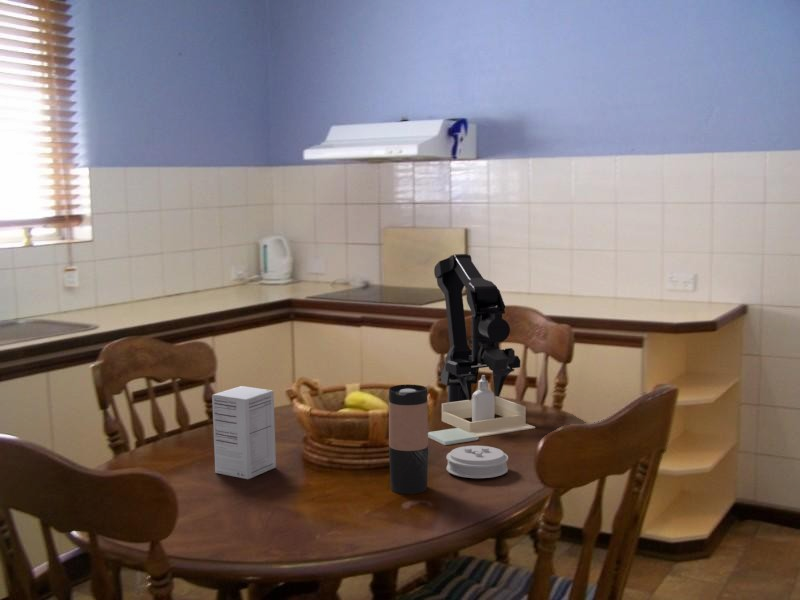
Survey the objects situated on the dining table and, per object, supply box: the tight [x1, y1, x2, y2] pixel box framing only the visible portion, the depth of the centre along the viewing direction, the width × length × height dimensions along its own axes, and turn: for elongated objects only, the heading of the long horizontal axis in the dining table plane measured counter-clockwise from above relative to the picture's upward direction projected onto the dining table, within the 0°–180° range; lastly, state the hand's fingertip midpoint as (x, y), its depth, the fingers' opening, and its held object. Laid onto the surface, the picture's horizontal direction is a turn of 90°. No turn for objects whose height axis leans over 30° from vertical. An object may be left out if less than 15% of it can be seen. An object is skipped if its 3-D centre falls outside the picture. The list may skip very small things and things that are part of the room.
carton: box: [441, 395, 536, 438], centre depth 234 cm, size 17×16×4 cm
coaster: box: [428, 427, 479, 446], centre depth 223 cm, size 9×9×1 cm
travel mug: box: [388, 384, 429, 495], centre depth 185 cm, size 8×8×20 cm
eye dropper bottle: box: [471, 374, 495, 422], centre depth 235 cm, size 4×6×12 cm
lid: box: [446, 445, 509, 479], centre depth 196 cm, size 13×13×5 cm
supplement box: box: [211, 385, 277, 480], centre depth 198 cm, size 10×9×17 cm
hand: (483, 398), depth 235 cm, fingers open, 8 cm apart
